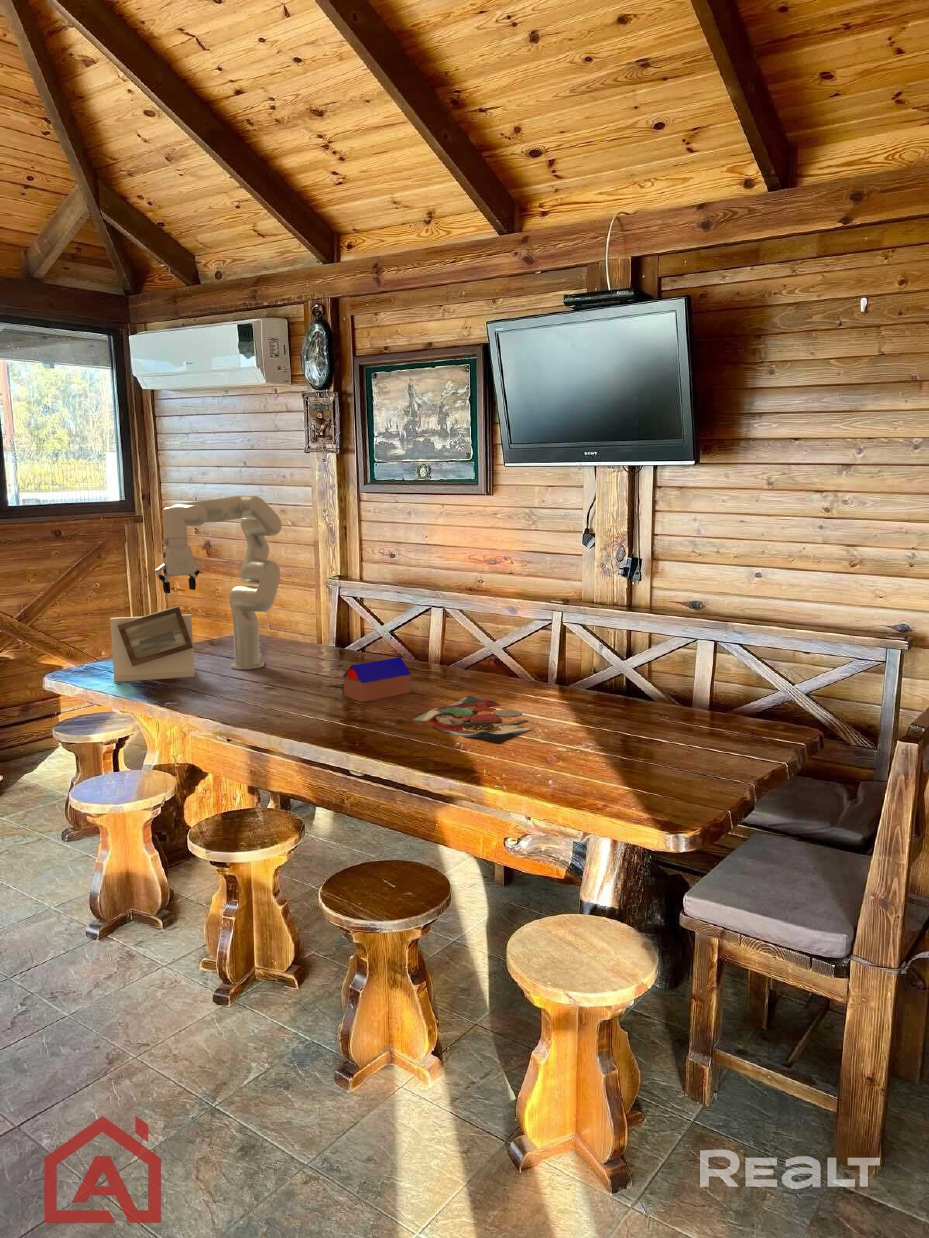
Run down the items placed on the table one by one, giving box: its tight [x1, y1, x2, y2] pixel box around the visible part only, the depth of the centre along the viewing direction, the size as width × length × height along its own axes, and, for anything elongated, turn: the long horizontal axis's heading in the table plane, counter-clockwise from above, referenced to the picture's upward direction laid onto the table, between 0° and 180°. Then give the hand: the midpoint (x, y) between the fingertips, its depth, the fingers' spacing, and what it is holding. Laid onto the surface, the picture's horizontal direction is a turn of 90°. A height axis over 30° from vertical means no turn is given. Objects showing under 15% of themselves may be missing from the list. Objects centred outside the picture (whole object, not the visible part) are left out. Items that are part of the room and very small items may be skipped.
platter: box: [412, 695, 532, 744], centre depth 278 cm, size 36×36×2 cm
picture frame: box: [117, 605, 194, 667], centre depth 331 cm, size 2×22×16 cm, turn 106°
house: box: [342, 656, 412, 703], centre depth 310 cm, size 12×20×12 cm, turn 130°
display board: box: [109, 613, 196, 683], centre depth 336 cm, size 8×28×23 cm, turn 106°
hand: (180, 591), depth 320 cm, fingers open, 9 cm apart
